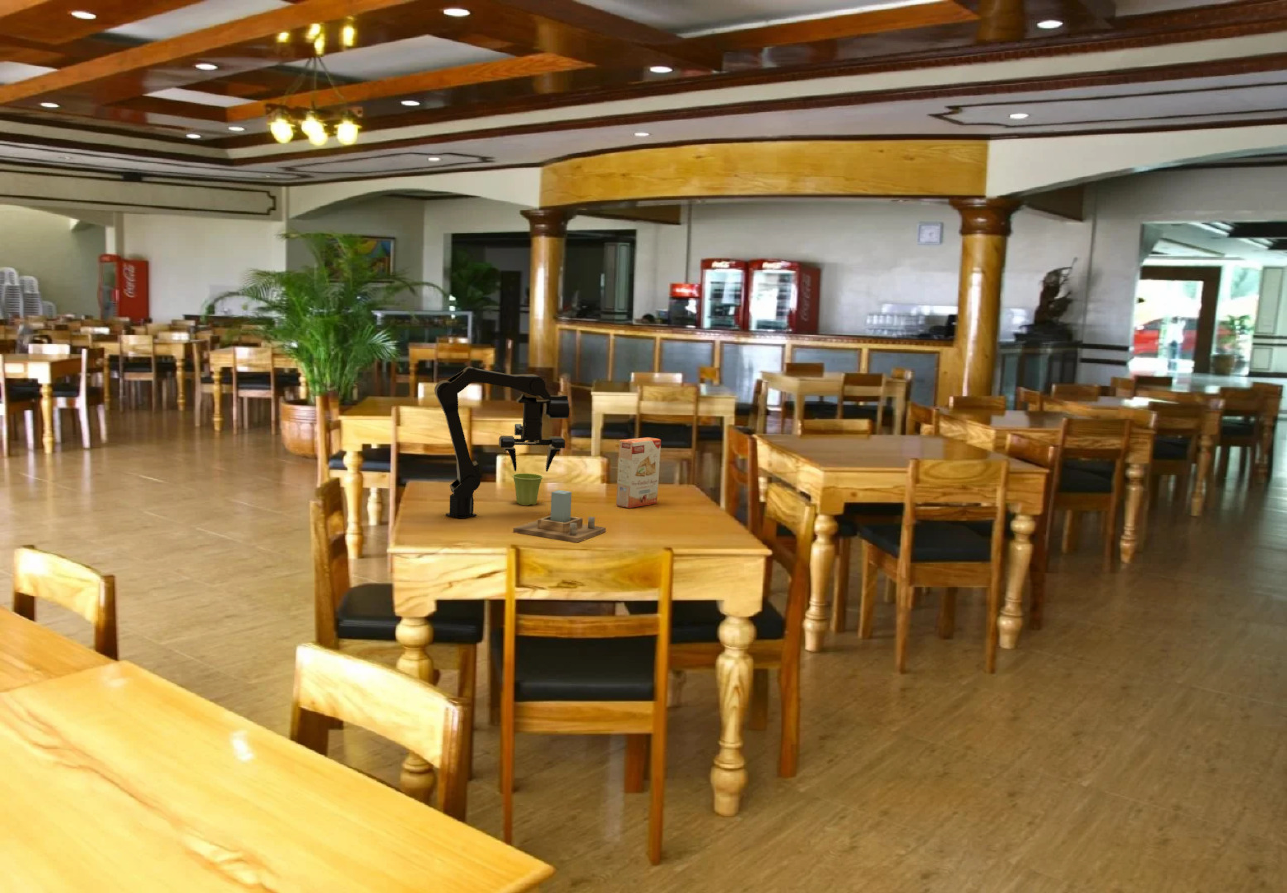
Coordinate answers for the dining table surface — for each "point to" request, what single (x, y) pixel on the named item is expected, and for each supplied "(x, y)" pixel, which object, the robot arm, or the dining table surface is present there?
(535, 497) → the plant pot
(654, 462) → the cracker box
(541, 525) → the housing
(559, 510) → the pale gray block
